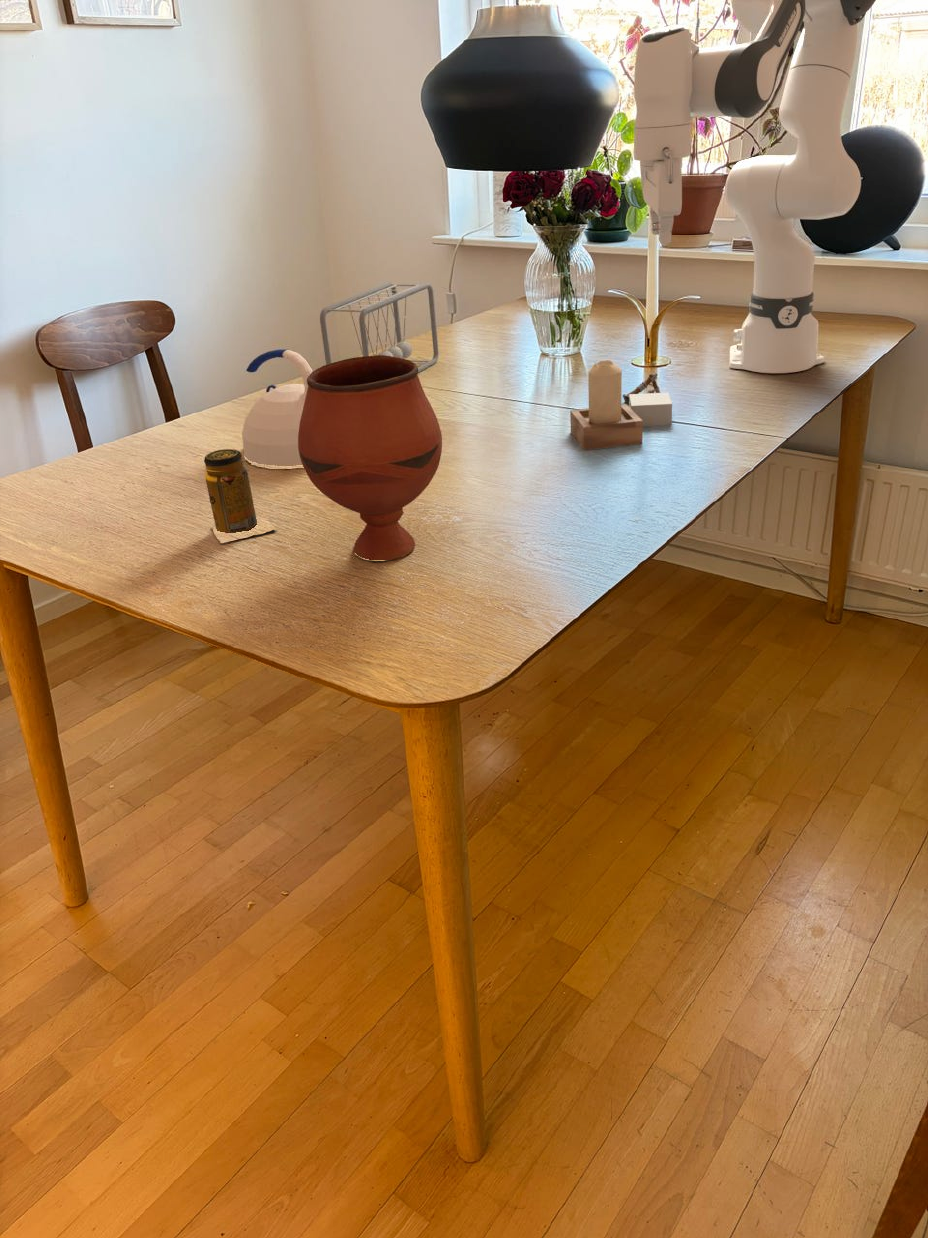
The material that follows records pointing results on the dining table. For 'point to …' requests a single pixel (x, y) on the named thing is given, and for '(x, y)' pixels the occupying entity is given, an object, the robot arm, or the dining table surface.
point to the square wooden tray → (606, 429)
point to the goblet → (370, 445)
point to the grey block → (652, 408)
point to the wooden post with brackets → (643, 386)
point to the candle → (604, 392)
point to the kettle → (276, 417)
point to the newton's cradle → (402, 347)
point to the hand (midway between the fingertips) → (661, 238)
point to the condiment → (229, 491)
